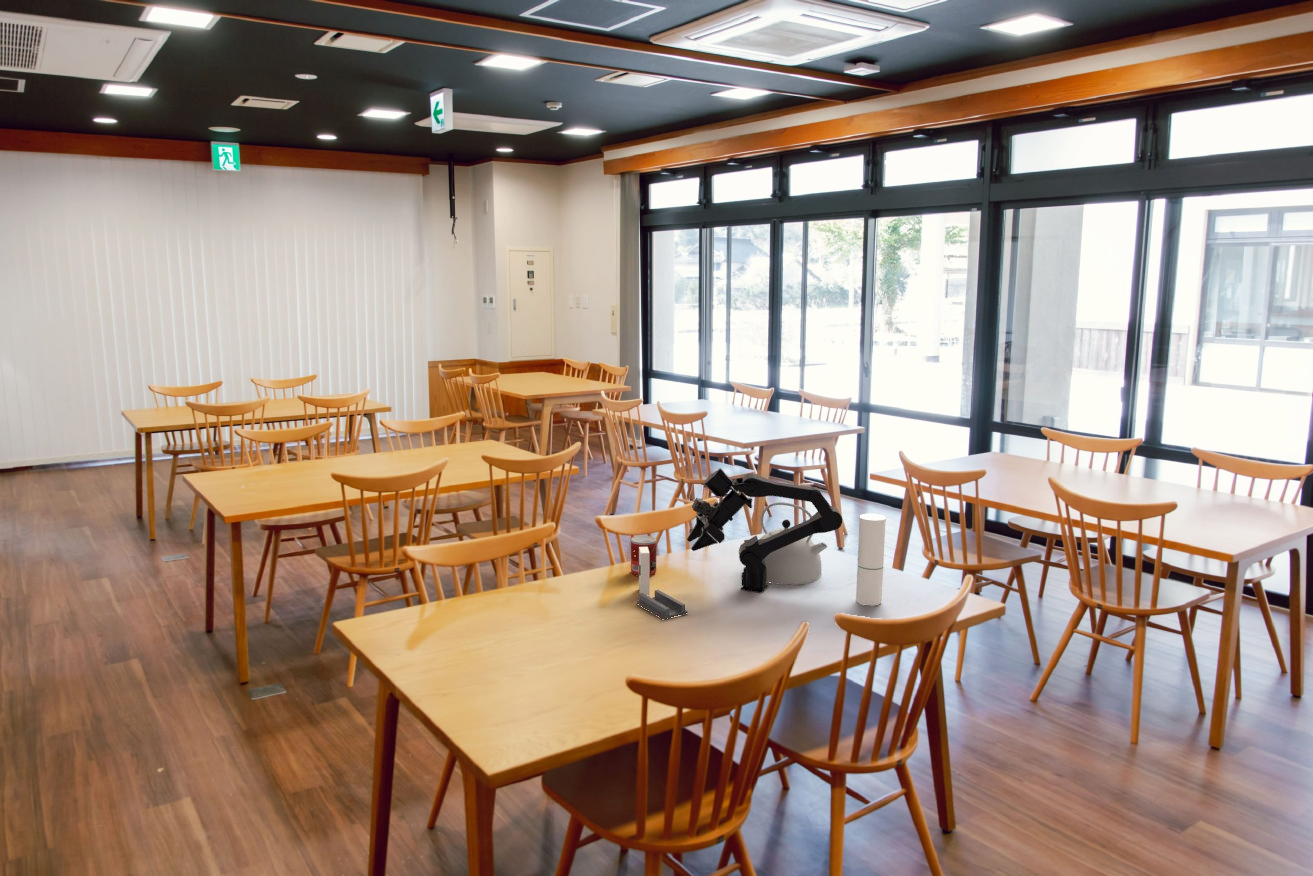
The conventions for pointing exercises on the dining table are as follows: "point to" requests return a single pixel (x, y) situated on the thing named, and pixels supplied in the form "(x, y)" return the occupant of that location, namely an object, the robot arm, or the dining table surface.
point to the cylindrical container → (870, 559)
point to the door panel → (644, 570)
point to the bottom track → (662, 605)
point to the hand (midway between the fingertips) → (690, 545)
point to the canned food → (635, 544)
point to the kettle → (793, 556)
